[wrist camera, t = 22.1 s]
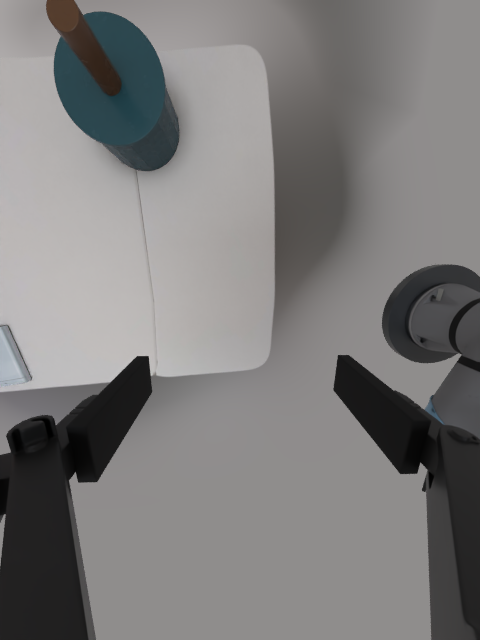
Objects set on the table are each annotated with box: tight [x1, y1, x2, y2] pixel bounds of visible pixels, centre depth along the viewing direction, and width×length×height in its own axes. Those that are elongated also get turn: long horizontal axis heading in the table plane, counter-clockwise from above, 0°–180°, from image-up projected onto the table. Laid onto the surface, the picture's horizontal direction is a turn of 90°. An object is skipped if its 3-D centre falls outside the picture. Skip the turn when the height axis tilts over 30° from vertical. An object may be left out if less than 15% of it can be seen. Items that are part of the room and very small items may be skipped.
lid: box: [46, 0, 166, 147], centre depth 24 cm, size 13×13×9 cm
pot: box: [102, 89, 179, 171], centre depth 32 cm, size 12×12×10 cm
